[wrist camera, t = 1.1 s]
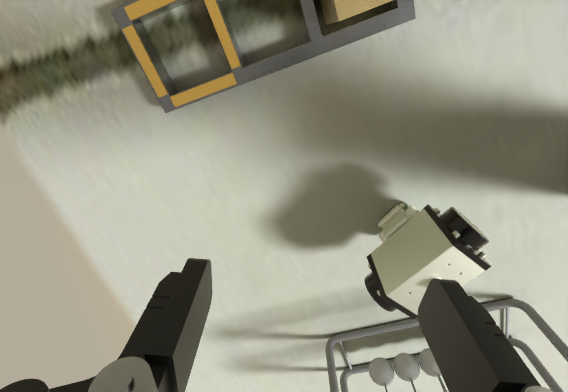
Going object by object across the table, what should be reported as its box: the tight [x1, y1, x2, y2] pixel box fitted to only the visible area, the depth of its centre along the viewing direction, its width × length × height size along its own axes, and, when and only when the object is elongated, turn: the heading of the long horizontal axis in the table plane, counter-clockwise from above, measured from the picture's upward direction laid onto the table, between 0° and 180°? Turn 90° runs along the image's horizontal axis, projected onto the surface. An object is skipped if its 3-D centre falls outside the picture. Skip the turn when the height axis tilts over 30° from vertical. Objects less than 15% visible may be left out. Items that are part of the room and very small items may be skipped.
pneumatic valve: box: [365, 204, 491, 319], centre depth 31 cm, size 6×12×12 cm, turn 143°
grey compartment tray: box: [111, 0, 415, 113], centre depth 25 cm, size 24×9×2 cm, turn 109°
